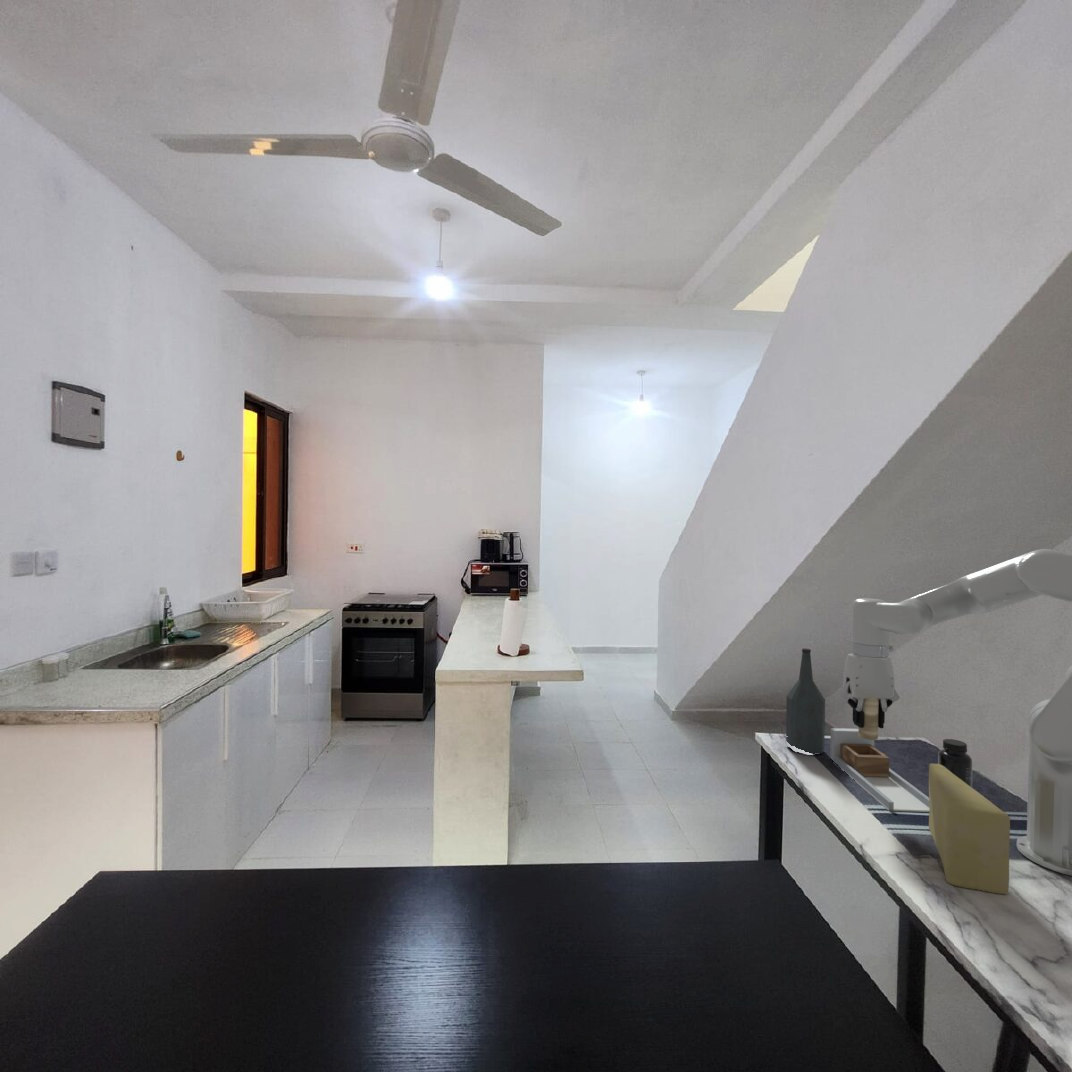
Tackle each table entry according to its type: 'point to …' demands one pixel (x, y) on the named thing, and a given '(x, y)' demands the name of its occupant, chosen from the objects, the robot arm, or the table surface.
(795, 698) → the bottle
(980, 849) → the cheese
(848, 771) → the track
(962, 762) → the supplement bottle
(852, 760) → the brown wooden open box
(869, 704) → the dowel
